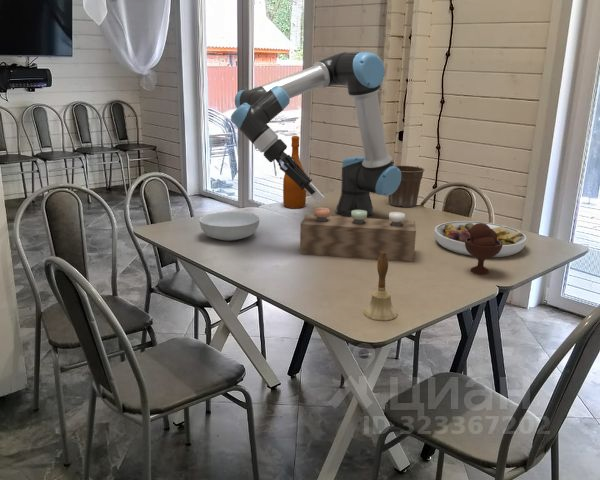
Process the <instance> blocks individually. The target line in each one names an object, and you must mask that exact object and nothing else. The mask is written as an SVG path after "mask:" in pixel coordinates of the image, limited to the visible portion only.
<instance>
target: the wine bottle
mask: <svg viewBox="0 0 600 480" xmlns="http://www.w3.org/2000/svg"><path fill="white" fill-rule="evenodd" d="M290 146H291V148H292V149H291V155H290V156H291V157H293V158H294V160H295V161H296V163H297V164H298V165H299V166H300V167H301V169H302V170H303V171H304V172H305V170H304V167H303V165H302V163H301V159H300V156H299V155H300V154H299V152H300V151H299V150H300V149H299V148H300V136H298V135H293V136H291V145H290ZM282 183H283V185H282V193H283V194H282V195H283V196H282V198H283V199H282V200H283V206H284V207H285V208H288V209H289V208H290V209H302V208H304V207H305V206H306V202H307V191H306V190H305V189H303V190H301V188H300V187H299V186H298V185H297V184H296V183H295V182H294V181H293V180H292V179H291V178H290V177H289V176H288V175H287V174H286V173H285V172H284V176H283V181H282Z"/></svg>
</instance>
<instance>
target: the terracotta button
mask: <svg viewBox="0 0 600 480" xmlns="http://www.w3.org/2000/svg"><path fill="white" fill-rule="evenodd" d="M313 212H314V213H313V215H314V216H316V217H317V221H319V222H327V217H329V216H331V208H328V207H315V208H314V211H313Z"/></svg>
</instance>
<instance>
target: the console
mask: <svg viewBox="0 0 600 480" xmlns="http://www.w3.org/2000/svg"><path fill="white" fill-rule="evenodd" d="M416 229H417V227H416V221H415V220H406V219H405V221H403V222H401V227H400V226H392V221H390V220H389V218H388V219H384V218H371V217H370V218H369V217H367V219H364V224H354V219H353V218H351V217H350V216H337V215H336V216H334V215H330V216H329V217H327V222H319V221H317V217H316V216H314V214H306V215H304V218H303V219H302V221H301V223H300V231H299V232H300V233H299V234H300V237H299V239H300V241H299V242H300V243H299V244H300V246H299V252H300V253H299V254H300V255H312V256H313V255H315V256H326V257H327V256H329V257H338V258H339V257H340V258H341V257H343V258H355V259H356V258H357V259H371V260H372V259H373V260H378V259H379V256H380V253H381V252H386V255H387V259H388V261H395V262H396V261H398V262H399V261H400V262H412V263H413V262H414V261H415V260H414V259H415V247H416V246H415V245H416V236H417V230H416Z"/></svg>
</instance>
